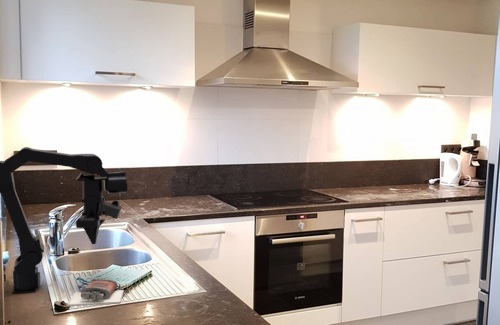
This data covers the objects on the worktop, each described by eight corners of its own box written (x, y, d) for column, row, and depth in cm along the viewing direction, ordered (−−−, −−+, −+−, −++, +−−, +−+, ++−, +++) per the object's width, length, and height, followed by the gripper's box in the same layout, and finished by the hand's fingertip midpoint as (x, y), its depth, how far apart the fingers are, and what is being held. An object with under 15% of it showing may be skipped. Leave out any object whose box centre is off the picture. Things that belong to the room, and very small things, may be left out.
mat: (67, 306, 133) (67, 304, 133) (74, 294, 142) (74, 292, 142) (120, 303, 135) (120, 301, 135) (123, 291, 144) (123, 289, 144)
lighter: (117, 279, 144) (106, 292, 134) (117, 290, 144) (106, 303, 134) (90, 277, 144) (77, 289, 134) (90, 288, 144) (77, 301, 134)
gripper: (114, 199, 142) (115, 251, 144) (123, 189, 161) (124, 235, 162) (74, 200, 141) (76, 252, 143) (89, 190, 159) (90, 236, 161)
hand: (93, 243), depth 152 cm, fingers closed
